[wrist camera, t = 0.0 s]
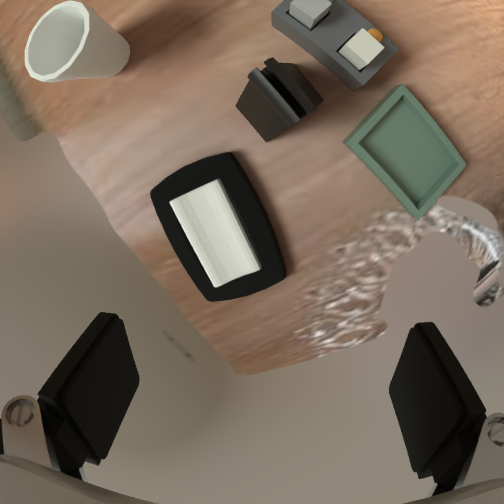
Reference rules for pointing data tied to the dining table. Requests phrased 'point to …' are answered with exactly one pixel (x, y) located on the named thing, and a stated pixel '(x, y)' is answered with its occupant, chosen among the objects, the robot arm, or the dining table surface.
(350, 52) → the block
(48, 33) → the foam cup
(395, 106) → the tray
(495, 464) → the robot arm
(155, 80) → the dining table surface
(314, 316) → the dining table surface
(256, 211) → the light switch
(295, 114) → the phone stand
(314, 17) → the block
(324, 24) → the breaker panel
